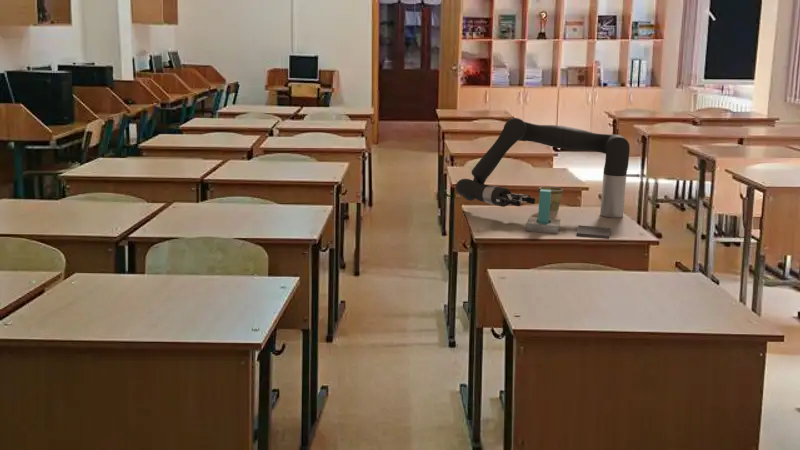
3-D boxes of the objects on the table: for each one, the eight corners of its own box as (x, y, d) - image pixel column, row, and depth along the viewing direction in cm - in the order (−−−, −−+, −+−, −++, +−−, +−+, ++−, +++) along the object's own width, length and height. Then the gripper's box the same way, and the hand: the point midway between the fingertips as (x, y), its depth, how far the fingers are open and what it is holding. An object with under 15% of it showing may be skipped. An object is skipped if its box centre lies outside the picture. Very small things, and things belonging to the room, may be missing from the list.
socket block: (529, 224, 365) (529, 216, 364) (560, 226, 362) (560, 219, 362) (525, 230, 354) (526, 223, 353) (557, 233, 351) (558, 225, 350)
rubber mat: (578, 227, 362) (578, 225, 362) (610, 230, 359) (610, 227, 359) (576, 235, 348) (576, 233, 348) (609, 238, 346) (609, 235, 346)
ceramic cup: (557, 215, 383) (559, 191, 381) (534, 212, 388) (535, 189, 385) (566, 210, 395) (567, 186, 393) (543, 207, 399) (545, 184, 397)
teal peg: (538, 227, 360) (540, 189, 357) (548, 228, 359) (551, 190, 356) (537, 229, 357) (539, 191, 353) (547, 230, 356) (550, 191, 352)
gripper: (484, 188, 369) (515, 194, 357) (509, 184, 378) (539, 191, 366) (483, 207, 370) (514, 214, 359) (508, 203, 380) (538, 209, 368)
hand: (527, 202), depth 362 cm, fingers open, 8 cm apart
